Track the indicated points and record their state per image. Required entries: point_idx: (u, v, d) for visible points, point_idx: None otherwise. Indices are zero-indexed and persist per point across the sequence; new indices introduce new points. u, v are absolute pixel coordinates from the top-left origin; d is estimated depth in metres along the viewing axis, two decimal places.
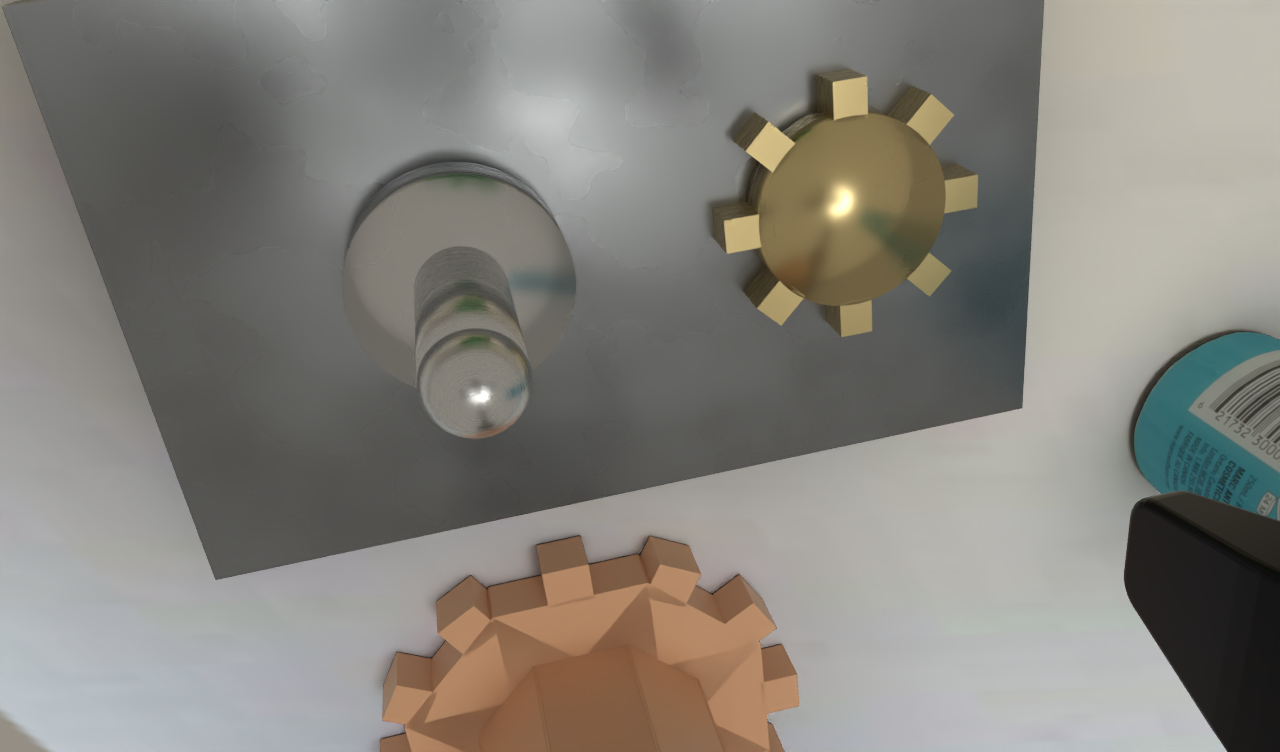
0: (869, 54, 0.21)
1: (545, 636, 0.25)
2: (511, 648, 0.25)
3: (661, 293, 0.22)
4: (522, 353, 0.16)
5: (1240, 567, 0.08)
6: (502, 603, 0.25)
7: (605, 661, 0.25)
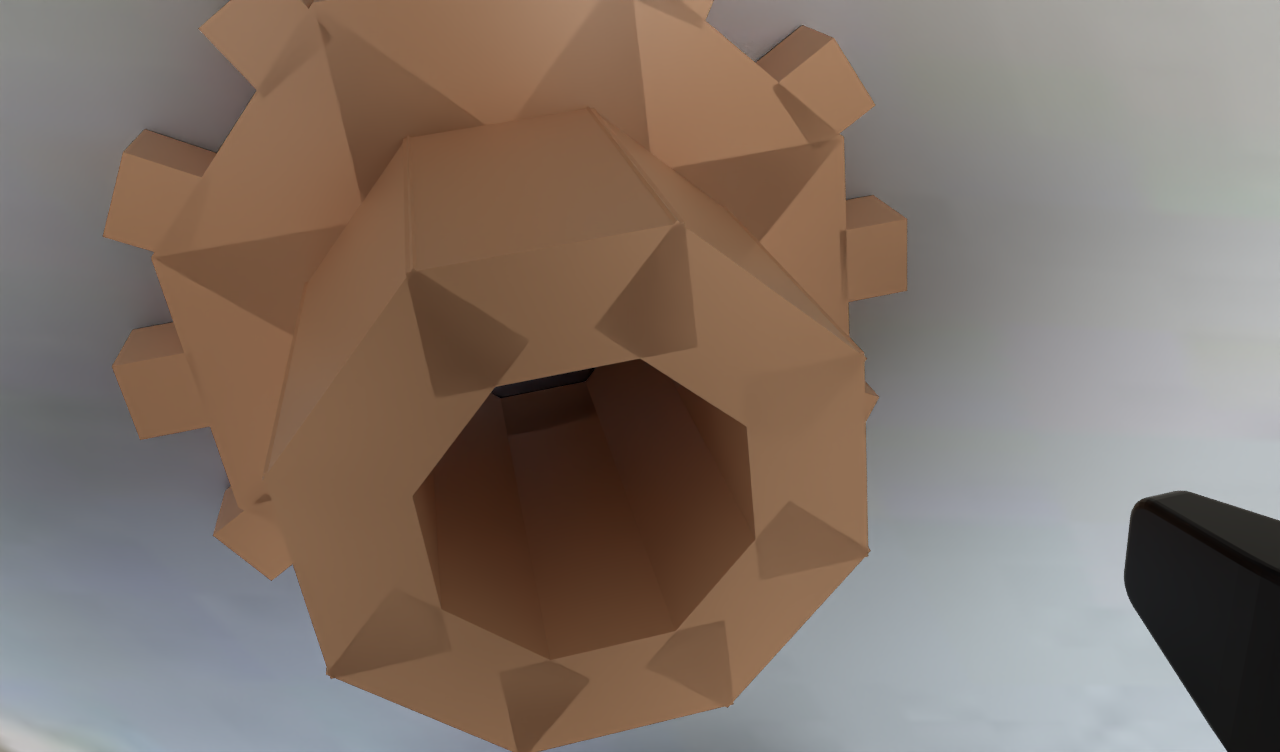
0: None
1: (425, 66, 0.13)
2: (357, 87, 0.13)
3: None
4: None
5: (1240, 566, 0.08)
6: None
7: (545, 122, 0.13)
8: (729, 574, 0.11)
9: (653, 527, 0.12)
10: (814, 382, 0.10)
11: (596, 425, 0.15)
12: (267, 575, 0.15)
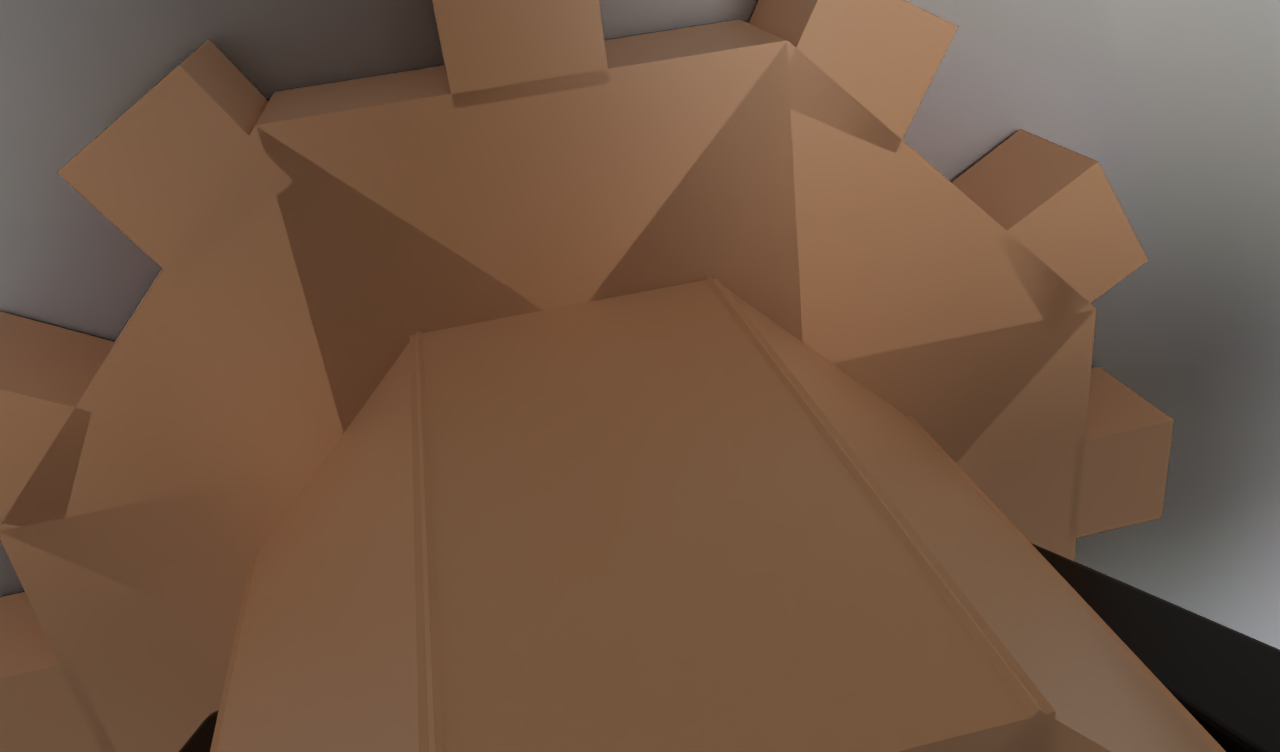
0: None
1: (447, 222, 0.08)
2: (333, 260, 0.08)
3: None
4: None
5: None
6: (301, 106, 0.07)
7: (645, 313, 0.08)
8: None
9: None
10: None
11: None
12: None
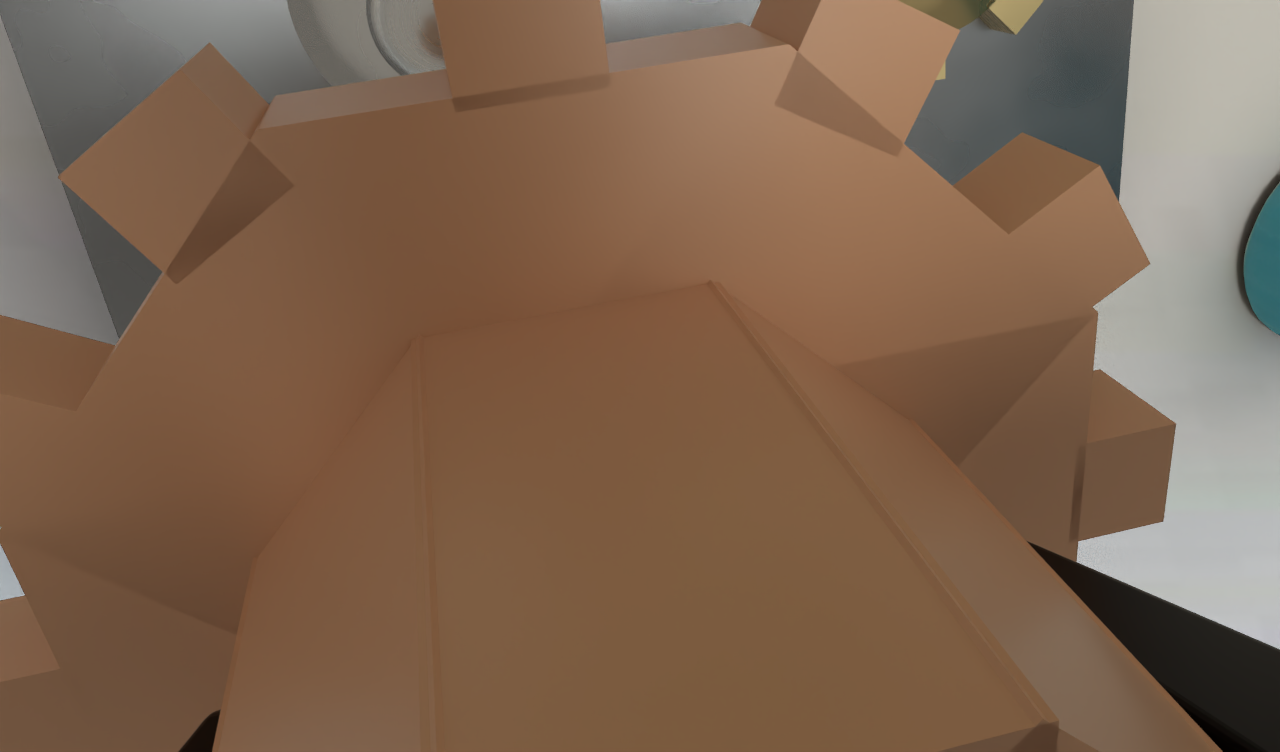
0: None
1: (448, 227, 0.08)
2: (334, 264, 0.08)
3: (685, 28, 0.18)
4: None
5: None
6: (302, 110, 0.07)
7: (646, 317, 0.08)
8: None
9: None
10: None
11: None
12: None
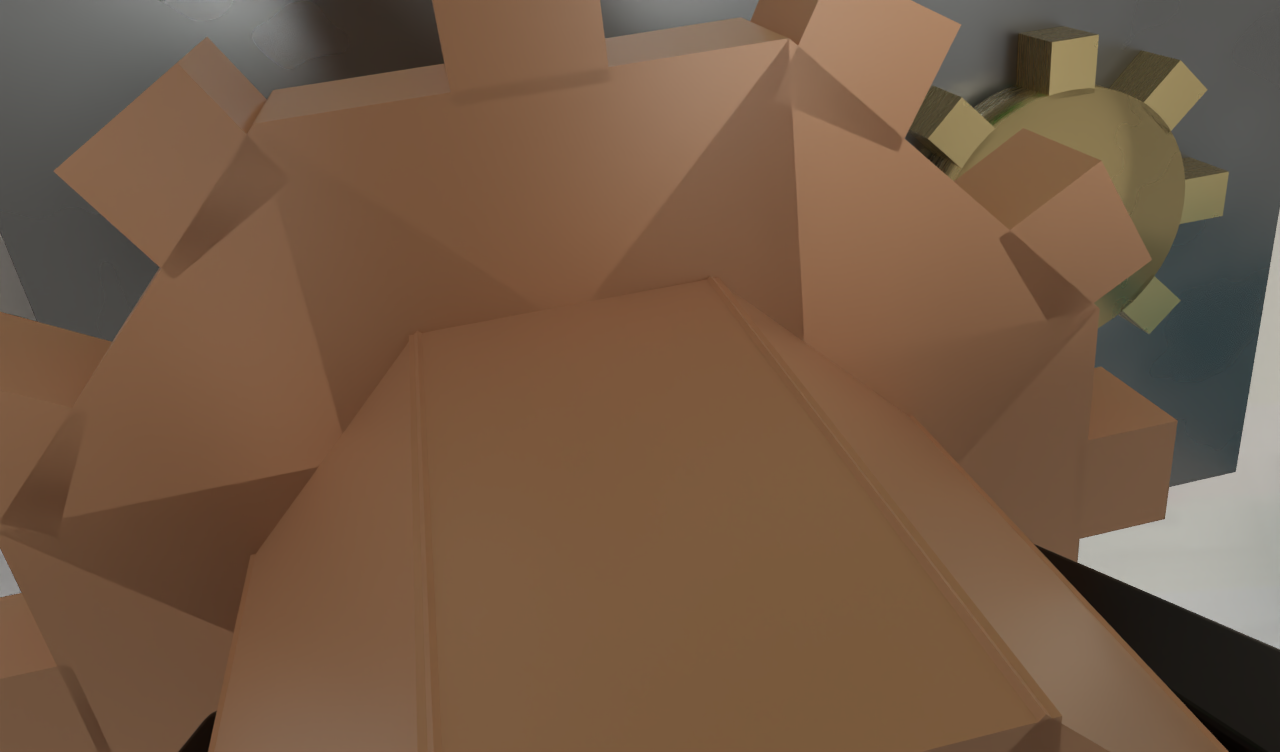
0: (1090, 6, 0.15)
1: (446, 221, 0.08)
2: (332, 259, 0.08)
3: None
4: None
5: None
6: (300, 104, 0.07)
7: (646, 312, 0.08)
8: None
9: None
10: None
11: None
12: None
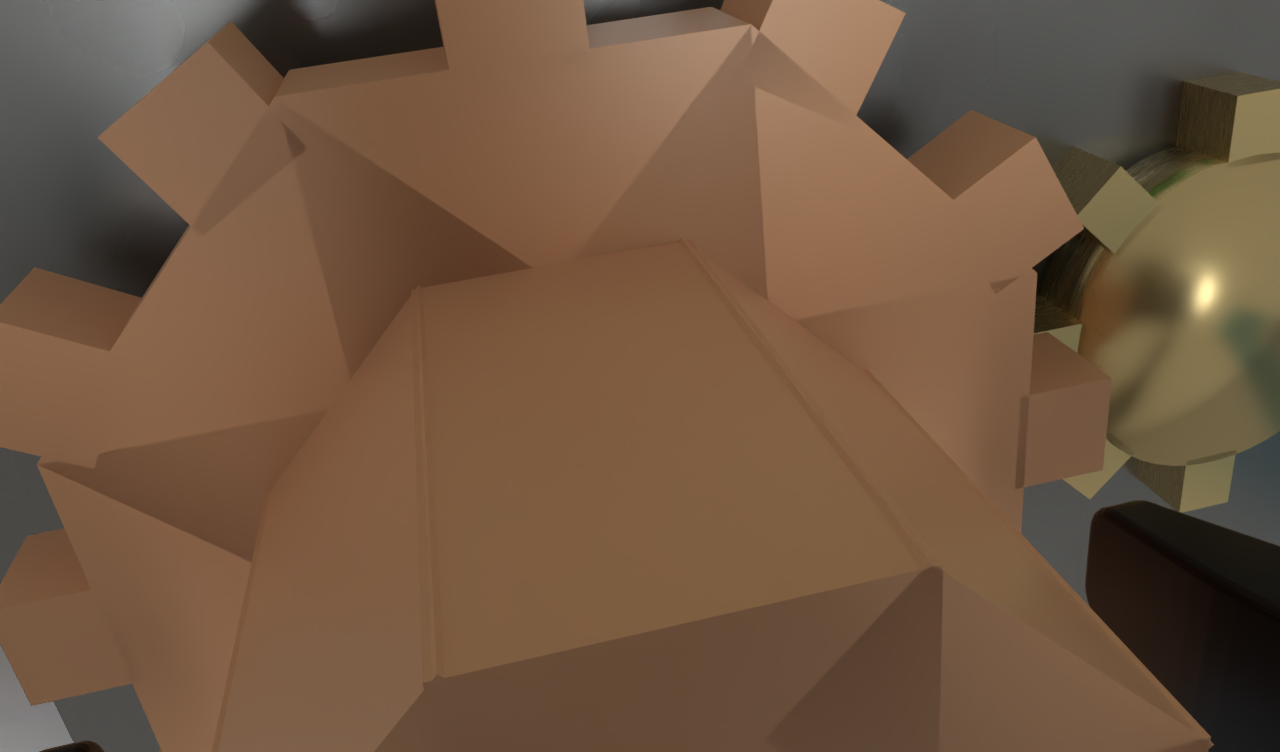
0: (1273, 47, 0.12)
1: (445, 186, 0.08)
2: (342, 219, 0.08)
3: None
4: None
5: (1194, 578, 0.08)
6: (314, 80, 0.08)
7: (623, 269, 0.09)
8: None
9: None
10: None
11: None
12: None
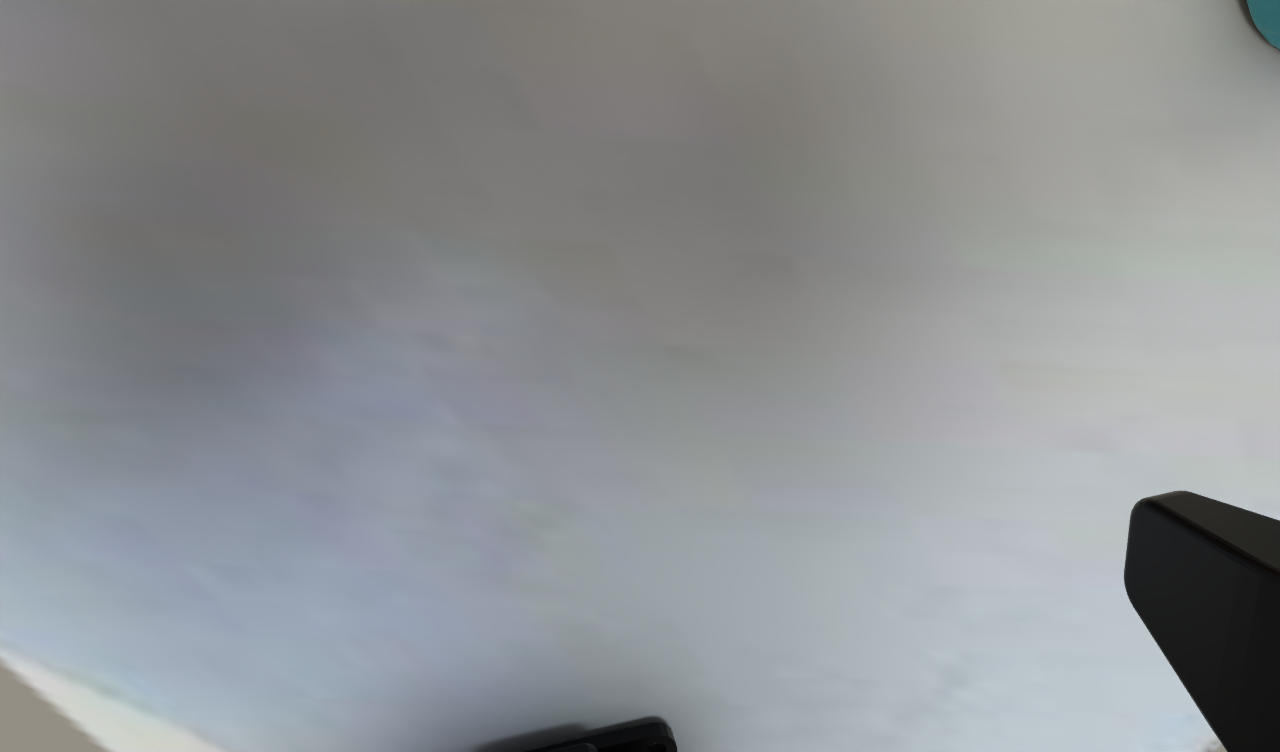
0: None
1: None
2: None
3: None
4: None
5: (1240, 567, 0.08)
6: None
7: None
8: None
9: None
10: None
11: None
12: None
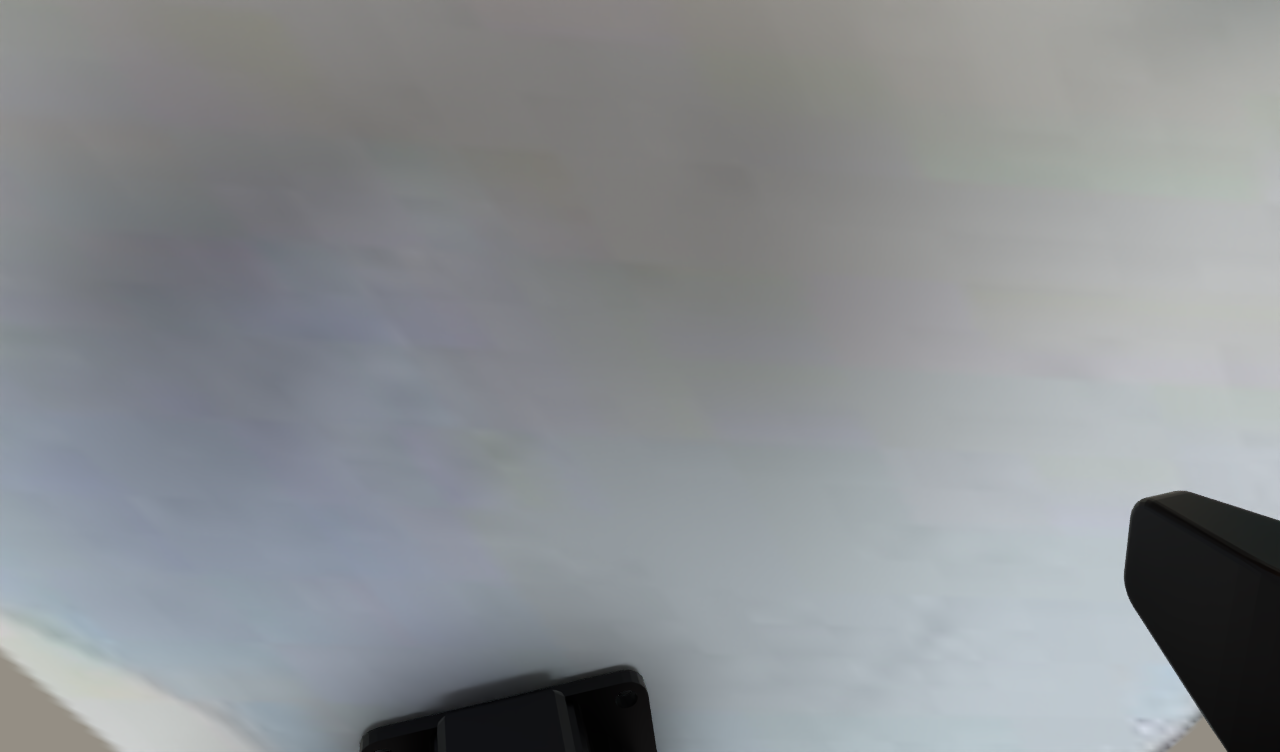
0: None
1: None
2: None
3: None
4: None
5: (1240, 566, 0.08)
6: None
7: None
8: None
9: None
10: None
11: None
12: None
